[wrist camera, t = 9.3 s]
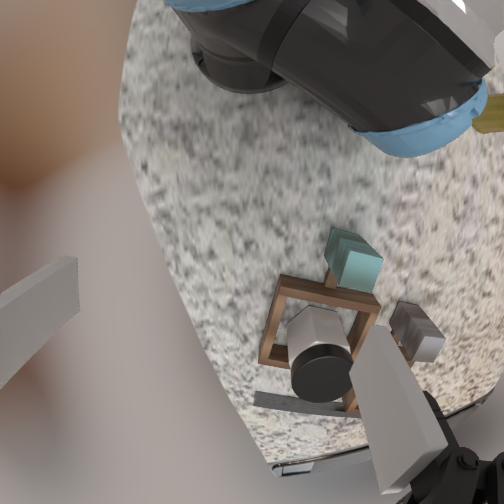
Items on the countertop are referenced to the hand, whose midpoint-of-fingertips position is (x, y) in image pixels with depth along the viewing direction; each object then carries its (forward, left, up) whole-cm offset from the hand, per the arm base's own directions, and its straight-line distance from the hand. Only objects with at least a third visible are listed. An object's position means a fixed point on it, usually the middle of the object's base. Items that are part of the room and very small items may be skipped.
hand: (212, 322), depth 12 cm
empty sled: (+19, +27, -28) cm, 43 cm away
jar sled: (+11, +13, -28) cm, 33 cm away
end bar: (+32, +20, -29) cm, 47 cm away
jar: (+16, +13, -29) cm, 36 cm away
